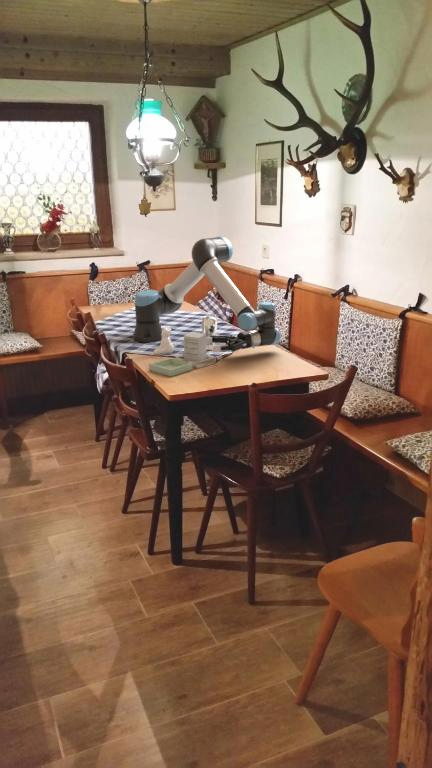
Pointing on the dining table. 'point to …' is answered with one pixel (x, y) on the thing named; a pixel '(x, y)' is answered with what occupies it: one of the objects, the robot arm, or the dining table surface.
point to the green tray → (170, 367)
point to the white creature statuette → (165, 343)
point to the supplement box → (195, 347)
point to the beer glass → (209, 329)
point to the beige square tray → (200, 364)
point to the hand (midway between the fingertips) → (205, 345)
